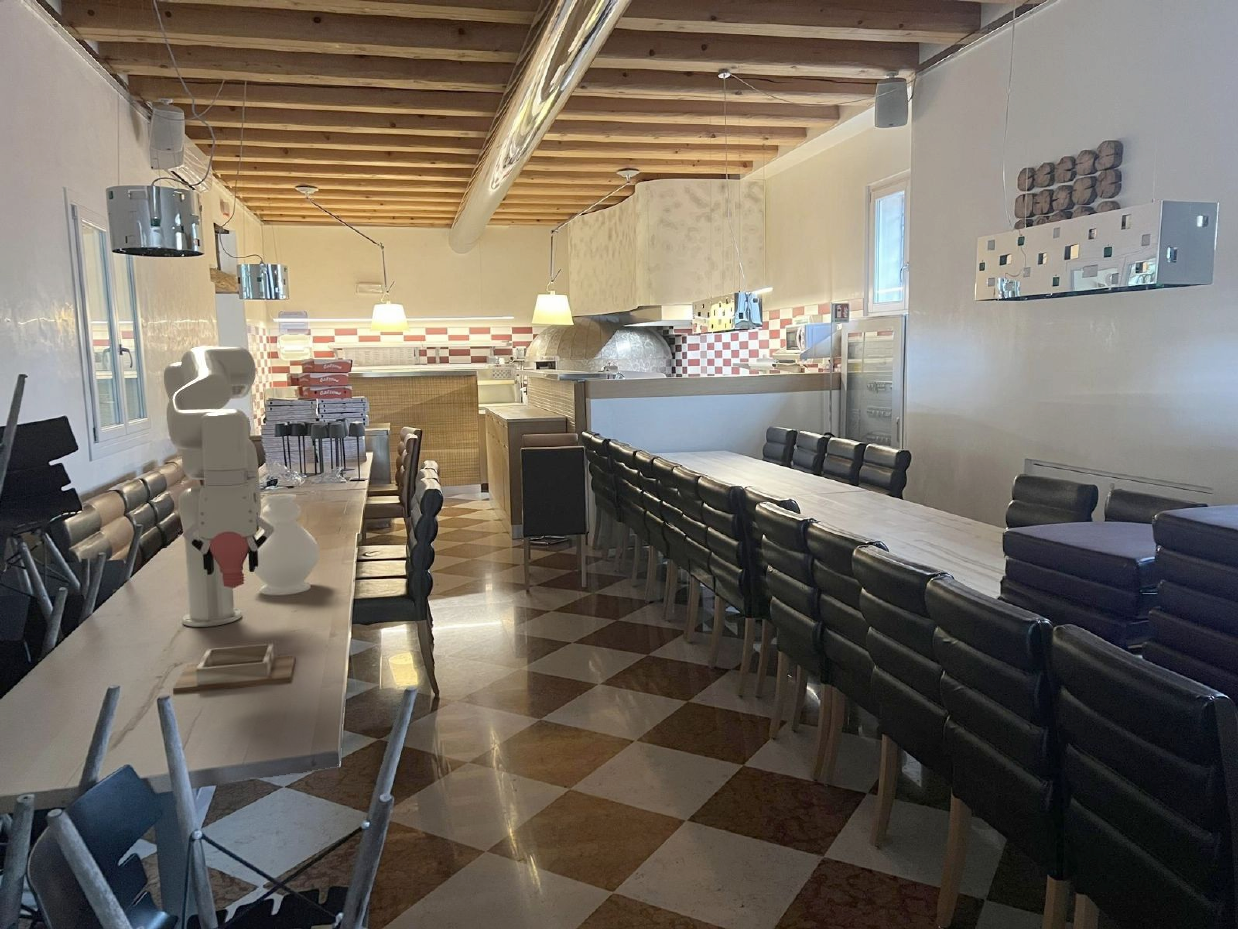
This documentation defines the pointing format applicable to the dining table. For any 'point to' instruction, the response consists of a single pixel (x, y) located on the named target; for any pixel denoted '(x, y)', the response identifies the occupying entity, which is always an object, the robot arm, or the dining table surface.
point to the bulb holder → (236, 669)
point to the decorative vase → (285, 549)
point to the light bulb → (230, 556)
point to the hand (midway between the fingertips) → (231, 571)
